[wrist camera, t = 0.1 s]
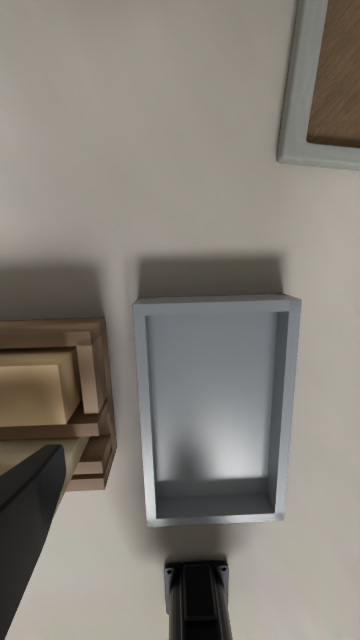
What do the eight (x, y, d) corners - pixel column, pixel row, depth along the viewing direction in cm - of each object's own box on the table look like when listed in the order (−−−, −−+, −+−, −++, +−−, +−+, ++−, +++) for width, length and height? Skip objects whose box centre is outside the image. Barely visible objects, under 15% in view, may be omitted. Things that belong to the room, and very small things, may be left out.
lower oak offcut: (87, 390, 21) (77, 405, 19) (-29, 394, 21) (-52, 410, 19) (81, 342, 20) (71, 352, 18) (-40, 345, 20) (-65, 356, 18)
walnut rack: (116, 447, 24) (104, 489, 20) (-19, 453, 24) (-62, 497, 19) (105, 317, 21) (87, 333, 17) (-49, 322, 21) (-106, 339, 17)
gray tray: (270, 490, 26) (283, 520, 23) (149, 496, 25) (147, 527, 22) (283, 293, 21) (301, 299, 18) (137, 297, 21) (132, 304, 18)
